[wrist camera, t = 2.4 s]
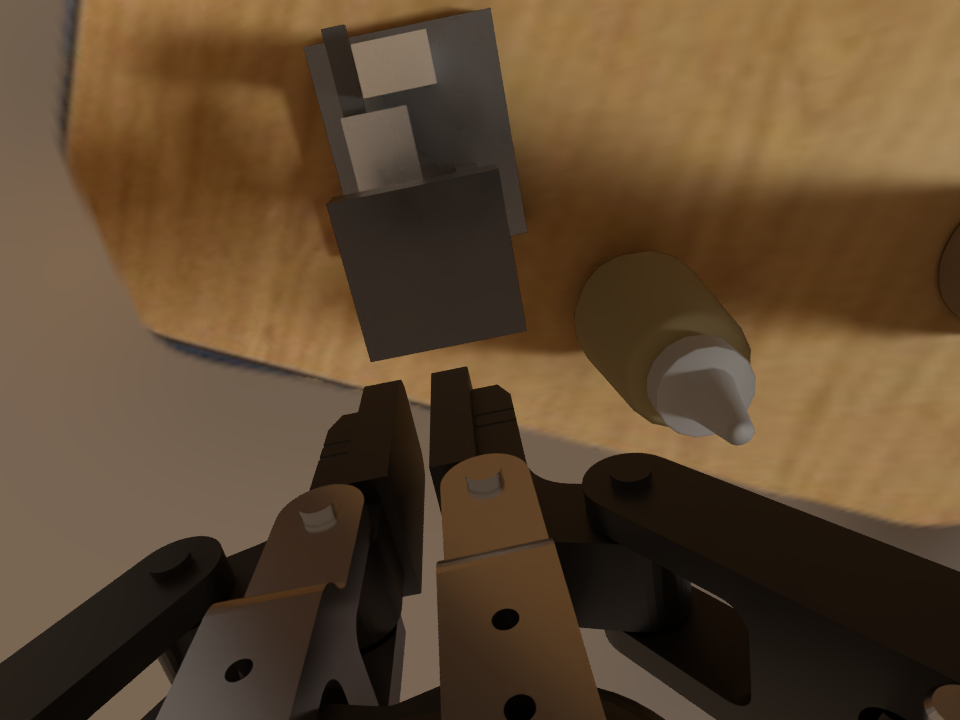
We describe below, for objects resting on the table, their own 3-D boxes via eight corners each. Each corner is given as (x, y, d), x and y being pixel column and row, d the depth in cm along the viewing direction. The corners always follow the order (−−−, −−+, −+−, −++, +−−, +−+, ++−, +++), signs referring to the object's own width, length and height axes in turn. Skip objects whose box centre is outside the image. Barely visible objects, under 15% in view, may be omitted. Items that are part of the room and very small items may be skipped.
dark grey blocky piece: (502, 263, 34) (526, 330, 25) (388, 286, 34) (370, 362, 25) (471, 90, 31) (485, 93, 21) (345, 116, 31) (305, 131, 22)
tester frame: (523, 225, 41) (554, 278, 30) (365, 257, 41) (339, 322, 30) (487, 11, 36) (509, -19, 25) (310, 48, 36) (255, 35, 25)
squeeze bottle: (538, 294, 43) (601, 428, 26) (638, 210, 41) (773, 297, 24) (612, 377, 45) (712, 547, 29) (708, 302, 44) (874, 436, 27)
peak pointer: (377, 155, 31) (376, 156, 30) (356, 159, 31) (354, 160, 30) (345, 25, 29) (343, 24, 28) (322, 30, 29) (320, 29, 28)
